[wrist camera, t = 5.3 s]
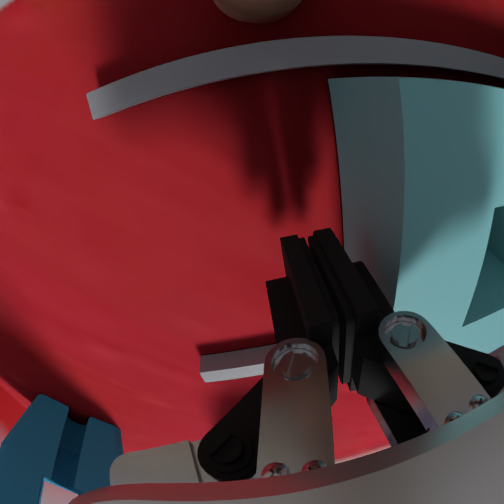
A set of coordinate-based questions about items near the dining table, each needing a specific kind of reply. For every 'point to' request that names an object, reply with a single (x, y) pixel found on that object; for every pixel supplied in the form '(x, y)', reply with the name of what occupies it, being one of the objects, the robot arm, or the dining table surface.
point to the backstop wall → (268, 60)
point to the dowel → (257, 9)
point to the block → (55, 453)
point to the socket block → (426, 197)
